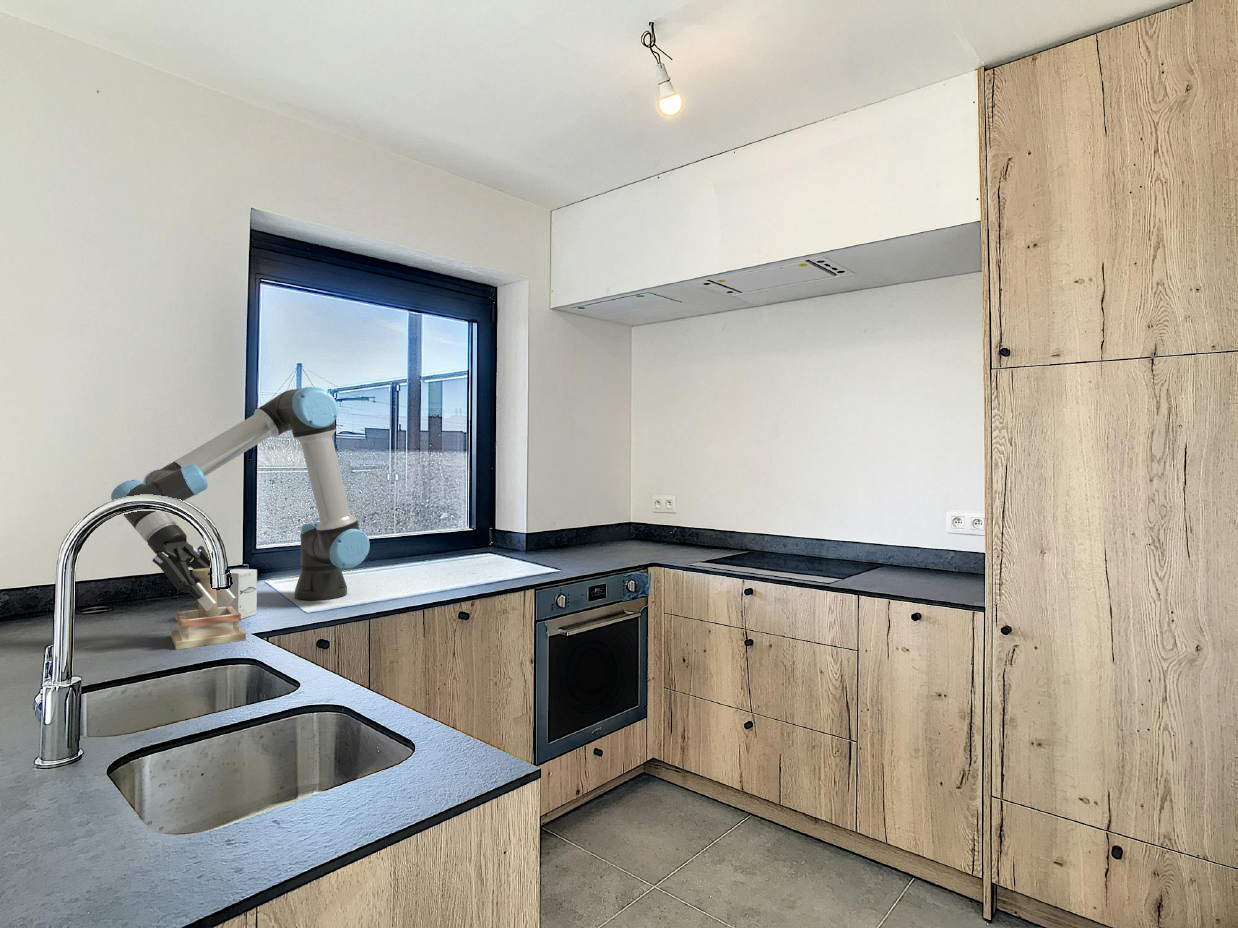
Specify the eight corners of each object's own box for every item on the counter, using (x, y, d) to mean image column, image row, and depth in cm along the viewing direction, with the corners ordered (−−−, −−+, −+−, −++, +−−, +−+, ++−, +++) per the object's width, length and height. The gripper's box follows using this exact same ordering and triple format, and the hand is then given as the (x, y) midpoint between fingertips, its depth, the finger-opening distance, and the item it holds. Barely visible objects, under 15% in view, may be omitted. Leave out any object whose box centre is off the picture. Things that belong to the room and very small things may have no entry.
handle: (190, 631, 166) (191, 569, 166) (221, 628, 170) (221, 566, 170) (193, 635, 162) (193, 571, 162) (224, 631, 166) (224, 569, 166)
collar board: (236, 628, 176) (236, 604, 176) (245, 639, 164) (245, 614, 164) (170, 636, 167) (170, 611, 167) (176, 649, 156) (176, 622, 156)
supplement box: (238, 620, 184) (238, 573, 183) (213, 619, 185) (213, 572, 185) (257, 614, 191) (257, 568, 191) (234, 613, 192) (234, 567, 192)
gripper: (183, 540, 178) (239, 606, 175) (118, 549, 159) (180, 623, 156) (201, 519, 177) (258, 586, 174) (138, 526, 158) (200, 601, 155)
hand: (221, 604), depth 165 cm, fingers open, 5 cm apart
